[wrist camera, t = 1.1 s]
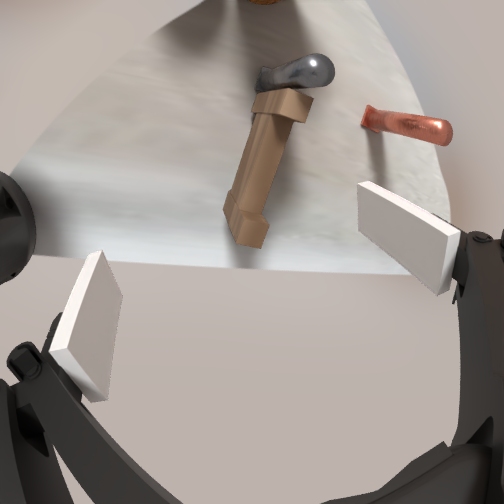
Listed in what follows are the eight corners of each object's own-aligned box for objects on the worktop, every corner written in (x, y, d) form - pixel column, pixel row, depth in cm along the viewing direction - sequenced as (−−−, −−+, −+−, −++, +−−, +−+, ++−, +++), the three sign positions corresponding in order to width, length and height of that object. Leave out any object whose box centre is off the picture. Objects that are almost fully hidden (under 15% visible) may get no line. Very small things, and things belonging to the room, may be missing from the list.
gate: (220, 203, 35) (236, 243, 25) (256, 93, 30) (289, 87, 20) (238, 207, 35) (260, 248, 26) (274, 100, 30) (314, 98, 21)
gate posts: (254, 88, 30) (295, 79, 18) (265, 59, 28) (311, 35, 17) (374, 139, 35) (445, 160, 24) (383, 113, 34) (456, 127, 22)
